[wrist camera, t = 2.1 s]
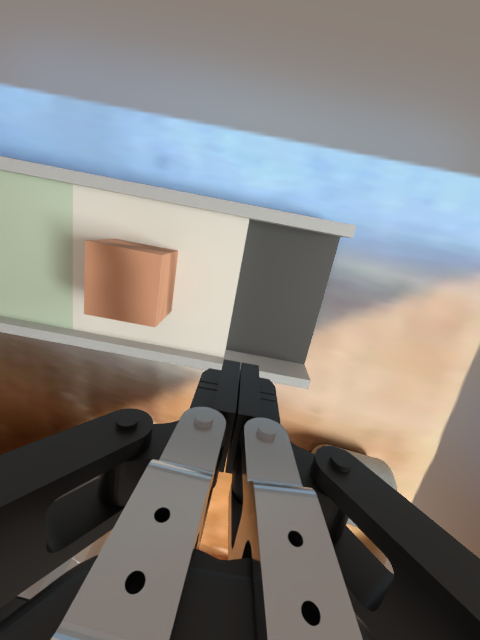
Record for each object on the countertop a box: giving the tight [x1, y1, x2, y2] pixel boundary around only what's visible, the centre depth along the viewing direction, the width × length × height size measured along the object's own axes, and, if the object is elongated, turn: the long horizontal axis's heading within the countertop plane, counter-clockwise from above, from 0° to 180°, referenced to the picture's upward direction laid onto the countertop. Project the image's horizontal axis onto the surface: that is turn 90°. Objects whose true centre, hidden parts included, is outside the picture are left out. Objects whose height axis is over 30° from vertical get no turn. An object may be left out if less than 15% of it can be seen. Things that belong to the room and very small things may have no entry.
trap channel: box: [0, 156, 356, 389], centre depth 28 cm, size 44×16×4 cm, turn 80°
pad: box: [0, 170, 73, 329], centre depth 28 cm, size 10×14×2 cm
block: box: [84, 239, 178, 327], centre depth 25 cm, size 6×6×5 cm
